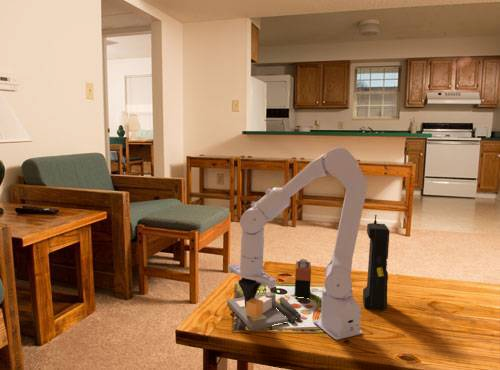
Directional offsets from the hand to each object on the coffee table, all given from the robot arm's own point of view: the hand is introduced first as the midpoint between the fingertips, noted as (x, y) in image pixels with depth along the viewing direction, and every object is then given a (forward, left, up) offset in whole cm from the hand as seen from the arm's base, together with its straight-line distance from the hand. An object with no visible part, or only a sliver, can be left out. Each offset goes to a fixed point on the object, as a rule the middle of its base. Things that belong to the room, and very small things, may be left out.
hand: (249, 306), depth 101 cm
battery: (+7, -20, -3) cm, 22 cm away
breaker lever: (-1, -3, -1) cm, 4 cm away
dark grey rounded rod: (-1, -11, -3) cm, 12 cm away
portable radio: (-7, -35, -3) cm, 36 cm away
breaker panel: (+1, -2, -3) cm, 4 cm away
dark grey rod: (0, -9, -3) cm, 9 cm away
